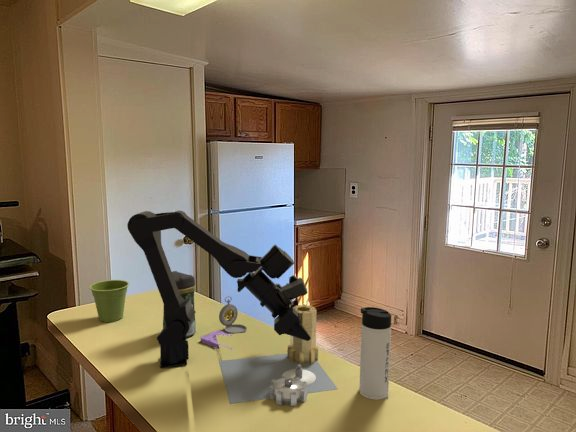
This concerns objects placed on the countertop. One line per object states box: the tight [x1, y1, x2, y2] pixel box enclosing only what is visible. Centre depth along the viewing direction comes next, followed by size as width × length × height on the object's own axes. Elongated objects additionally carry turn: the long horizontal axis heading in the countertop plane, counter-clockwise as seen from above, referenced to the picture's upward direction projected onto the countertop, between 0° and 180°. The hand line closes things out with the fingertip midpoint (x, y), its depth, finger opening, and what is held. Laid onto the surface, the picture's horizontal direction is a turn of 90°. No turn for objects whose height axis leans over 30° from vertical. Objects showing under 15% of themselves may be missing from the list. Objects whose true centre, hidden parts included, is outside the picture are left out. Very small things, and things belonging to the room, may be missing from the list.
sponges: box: [200, 329, 234, 350], centre depth 122 cm, size 7×13×2 cm, turn 53°
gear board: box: [218, 352, 339, 405], centre depth 102 cm, size 24×20×4 cm
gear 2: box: [269, 376, 308, 407], centre depth 93 cm, size 8×8×3 cm
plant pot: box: [89, 279, 130, 323], centre depth 139 cm, size 12×12×11 cm
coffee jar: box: [162, 270, 197, 339], centre depth 127 cm, size 10×8×19 cm
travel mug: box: [358, 306, 392, 401], centre depth 94 cm, size 6×7×20 cm
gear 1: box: [287, 304, 319, 365], centre depth 110 cm, size 8×8×13 cm
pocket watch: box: [218, 295, 248, 335], centre depth 131 cm, size 8×8×10 cm
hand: (308, 333), depth 110 cm, fingers open, 8 cm apart
